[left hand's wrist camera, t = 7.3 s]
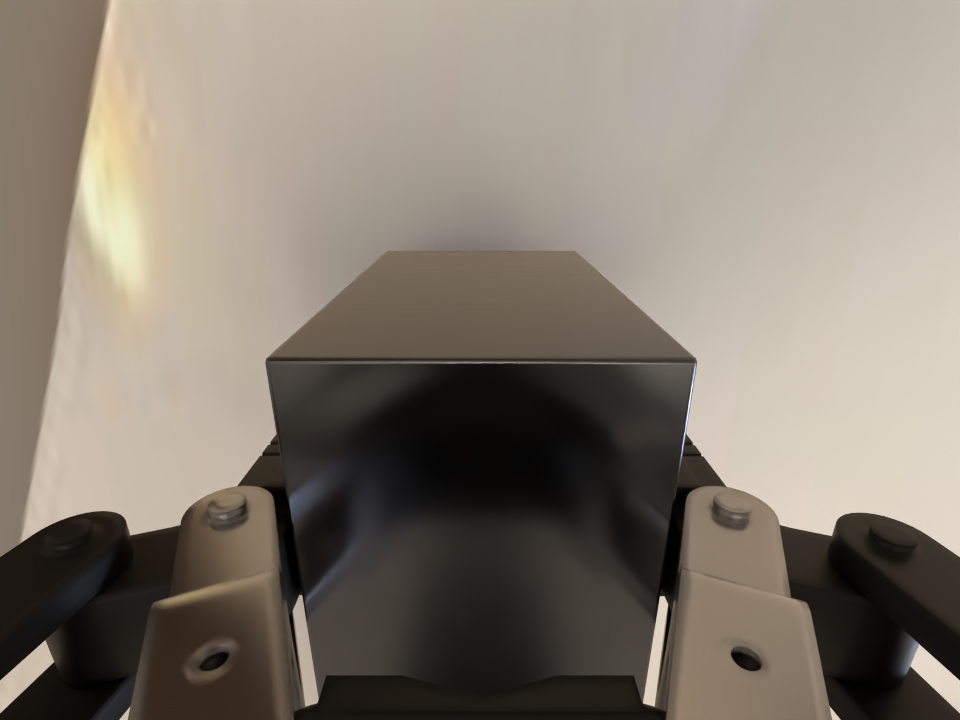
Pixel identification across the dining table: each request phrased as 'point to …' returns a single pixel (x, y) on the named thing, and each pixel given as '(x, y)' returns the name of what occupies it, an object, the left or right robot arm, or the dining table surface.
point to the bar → (481, 469)
